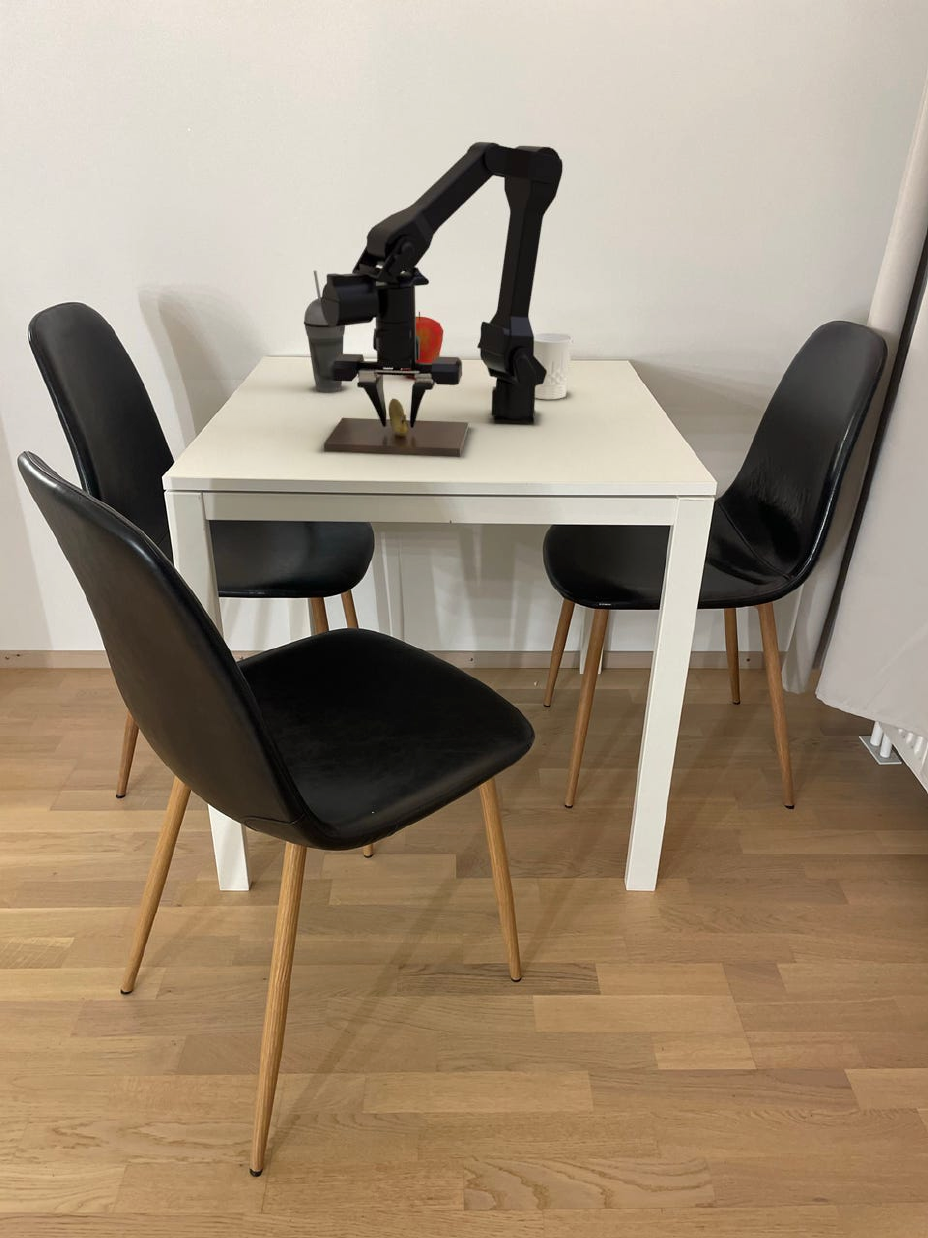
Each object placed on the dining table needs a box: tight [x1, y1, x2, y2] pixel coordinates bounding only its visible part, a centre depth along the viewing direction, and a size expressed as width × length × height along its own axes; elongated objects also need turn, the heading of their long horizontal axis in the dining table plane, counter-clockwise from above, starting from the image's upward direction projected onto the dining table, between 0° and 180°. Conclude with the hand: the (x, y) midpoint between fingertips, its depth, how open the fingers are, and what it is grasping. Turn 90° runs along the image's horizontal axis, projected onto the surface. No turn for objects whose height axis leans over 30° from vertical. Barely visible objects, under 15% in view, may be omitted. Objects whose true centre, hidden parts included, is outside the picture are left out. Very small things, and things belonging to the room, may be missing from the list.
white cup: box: [533, 331, 574, 400], centre depth 161 cm, size 8×8×10 cm
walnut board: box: [323, 417, 469, 457], centre depth 140 cm, size 20×13×1 cm, turn 85°
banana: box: [388, 398, 408, 437], centre depth 139 cm, size 10×2×4 cm, turn 11°
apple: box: [402, 311, 444, 379], centre depth 171 cm, size 9×8×12 cm
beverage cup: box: [303, 270, 346, 393], centre depth 161 cm, size 7×7×20 cm
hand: (398, 426), depth 139 cm, fingers open, 4 cm apart
